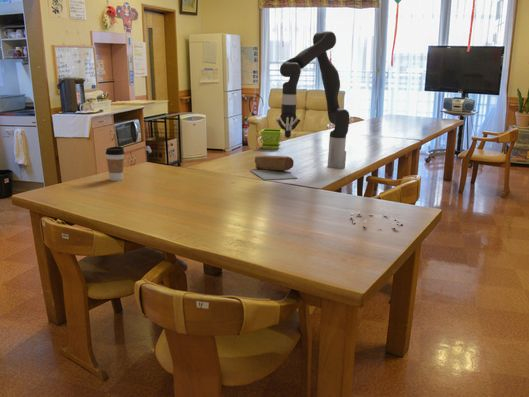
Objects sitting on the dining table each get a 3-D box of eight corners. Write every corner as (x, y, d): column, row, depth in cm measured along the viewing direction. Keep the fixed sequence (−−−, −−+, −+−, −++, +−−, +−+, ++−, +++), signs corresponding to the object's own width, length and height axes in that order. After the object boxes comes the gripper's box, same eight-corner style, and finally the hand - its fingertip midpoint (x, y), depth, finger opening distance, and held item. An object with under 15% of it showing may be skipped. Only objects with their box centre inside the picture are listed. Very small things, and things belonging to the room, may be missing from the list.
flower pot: (262, 146, 347) (263, 128, 343) (282, 147, 345) (282, 129, 342) (259, 149, 333) (260, 130, 330) (279, 150, 331) (280, 131, 328)
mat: (281, 170, 266) (281, 169, 265) (297, 178, 246) (297, 177, 245) (250, 171, 259) (250, 170, 259) (264, 180, 239) (264, 179, 239)
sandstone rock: (283, 157, 253) (253, 155, 265) (283, 171, 254) (253, 169, 266) (294, 155, 261) (265, 154, 273) (294, 169, 263) (265, 167, 275)
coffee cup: (129, 178, 231) (128, 147, 228) (117, 182, 224) (115, 149, 220) (115, 176, 235) (114, 145, 231) (102, 179, 227) (101, 148, 224)
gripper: (297, 103, 251) (296, 136, 255) (274, 102, 246) (272, 137, 251) (304, 104, 244) (302, 138, 249) (279, 104, 240) (278, 139, 244)
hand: (287, 137), depth 250 cm, fingers closed
